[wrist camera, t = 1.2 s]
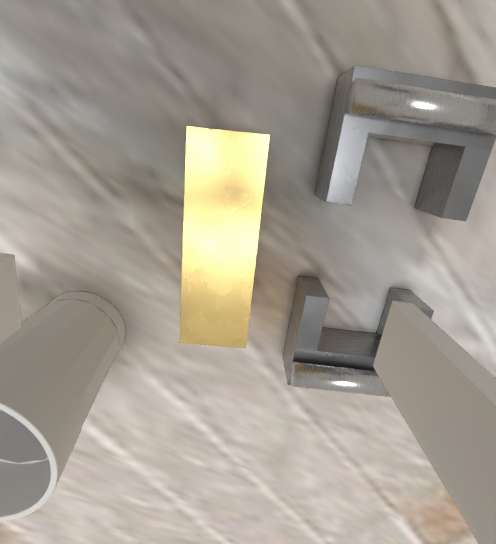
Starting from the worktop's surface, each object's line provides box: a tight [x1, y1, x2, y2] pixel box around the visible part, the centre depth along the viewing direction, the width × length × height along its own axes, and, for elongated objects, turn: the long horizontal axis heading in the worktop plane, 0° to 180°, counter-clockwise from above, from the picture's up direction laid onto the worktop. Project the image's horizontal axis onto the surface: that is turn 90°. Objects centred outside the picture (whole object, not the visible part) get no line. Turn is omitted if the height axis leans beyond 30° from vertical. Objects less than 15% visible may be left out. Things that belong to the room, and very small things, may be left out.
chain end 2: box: [283, 276, 434, 397], centre depth 24 cm, size 7×8×5 cm
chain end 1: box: [315, 65, 496, 221], centre depth 20 cm, size 7×8×5 cm
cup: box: [0, 291, 126, 522], centre depth 21 cm, size 8×8×12 cm
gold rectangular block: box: [179, 126, 270, 348], centre depth 21 cm, size 12×4×6 cm, turn 174°
